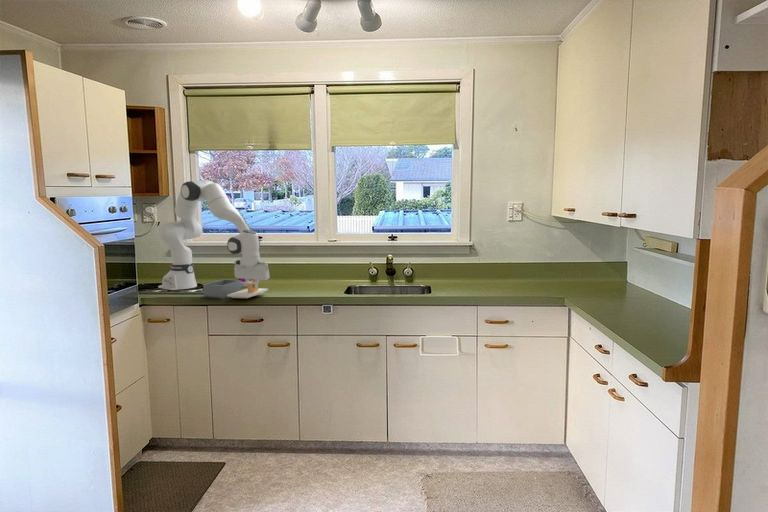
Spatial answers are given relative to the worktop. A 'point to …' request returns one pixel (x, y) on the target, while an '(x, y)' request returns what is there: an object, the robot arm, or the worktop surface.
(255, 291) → the lid
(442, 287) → the worktop surface
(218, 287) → the tub
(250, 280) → the supplement can
